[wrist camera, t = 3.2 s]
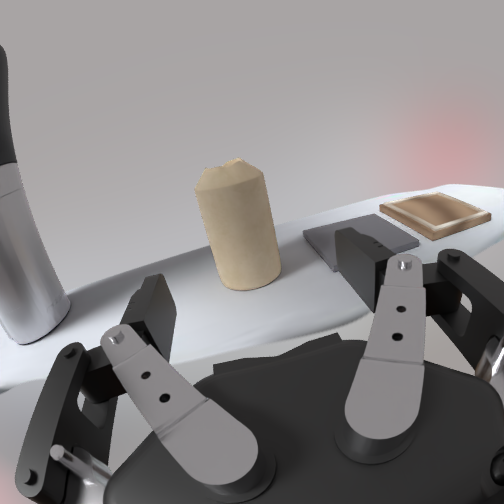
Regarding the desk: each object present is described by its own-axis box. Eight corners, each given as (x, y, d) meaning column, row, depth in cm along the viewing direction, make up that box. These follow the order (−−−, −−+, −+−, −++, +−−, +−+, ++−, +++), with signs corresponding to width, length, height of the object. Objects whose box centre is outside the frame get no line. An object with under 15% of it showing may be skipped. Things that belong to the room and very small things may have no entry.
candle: (251, 254, 28) (228, 157, 24) (294, 265, 24) (273, 151, 20) (209, 281, 25) (177, 174, 21) (250, 298, 21) (217, 168, 17)
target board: (432, 240, 22) (433, 231, 22) (379, 210, 32) (379, 203, 31) (490, 220, 22) (491, 212, 22) (438, 197, 32) (438, 190, 31)
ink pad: (334, 272, 22) (333, 265, 21) (303, 235, 30) (302, 230, 29) (418, 246, 22) (418, 240, 22) (374, 218, 30) (374, 213, 30)
